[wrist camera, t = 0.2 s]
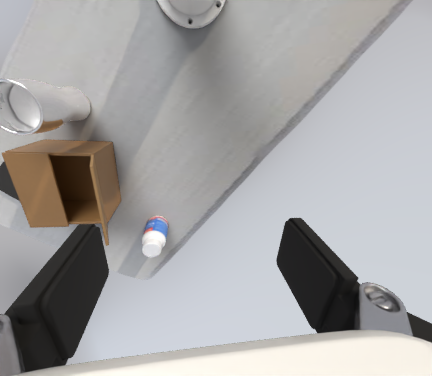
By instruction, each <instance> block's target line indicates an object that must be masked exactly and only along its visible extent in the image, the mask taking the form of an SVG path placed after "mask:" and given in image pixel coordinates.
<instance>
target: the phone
mask: <svg viewBox="0 0 432 376" xmlns="http://www.w3.org/2000/svg"><path fill="white" fill-rule="evenodd" d="M0 190H1V191H3V192H5V193H6V194H8V195H10V196H12V197H14V198H16V199H17V200H19V201H20V199H19V197H18V194H17V192H16V189H15V187H14V184H13V181H12V179H11V176H10V174H9V171H8V169H7V166H6V163H5V162H3V163H2V165H1V166H0Z"/></svg>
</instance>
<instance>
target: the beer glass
mask: <svg viewBox="0 0 432 376" xmlns="http://www.w3.org/2000/svg"><path fill="white" fill-rule="evenodd" d="M90 110H91V106H90V102H89V100H88V98H87V96H86V95H85V94H84V93H83V92H82V91H81V90H79V89H77V88H75V87H72V86H64V87H60V88H58V87H56V86H53V85H51V84H48V83H45V82H41V81H37V80H31V79H4V78H0V128H1V129H3V130H5V131H7V132H9V133H12V134H16V135H29V134H35V133H42V132H47V131H51V130H54V129H57V128H59V127H61V126H63V125H65V124H66V123H68V122H69V121H70V120H73V121H80V120H83V119H85V118H87V117H88V115H89V113H90Z"/></svg>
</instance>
